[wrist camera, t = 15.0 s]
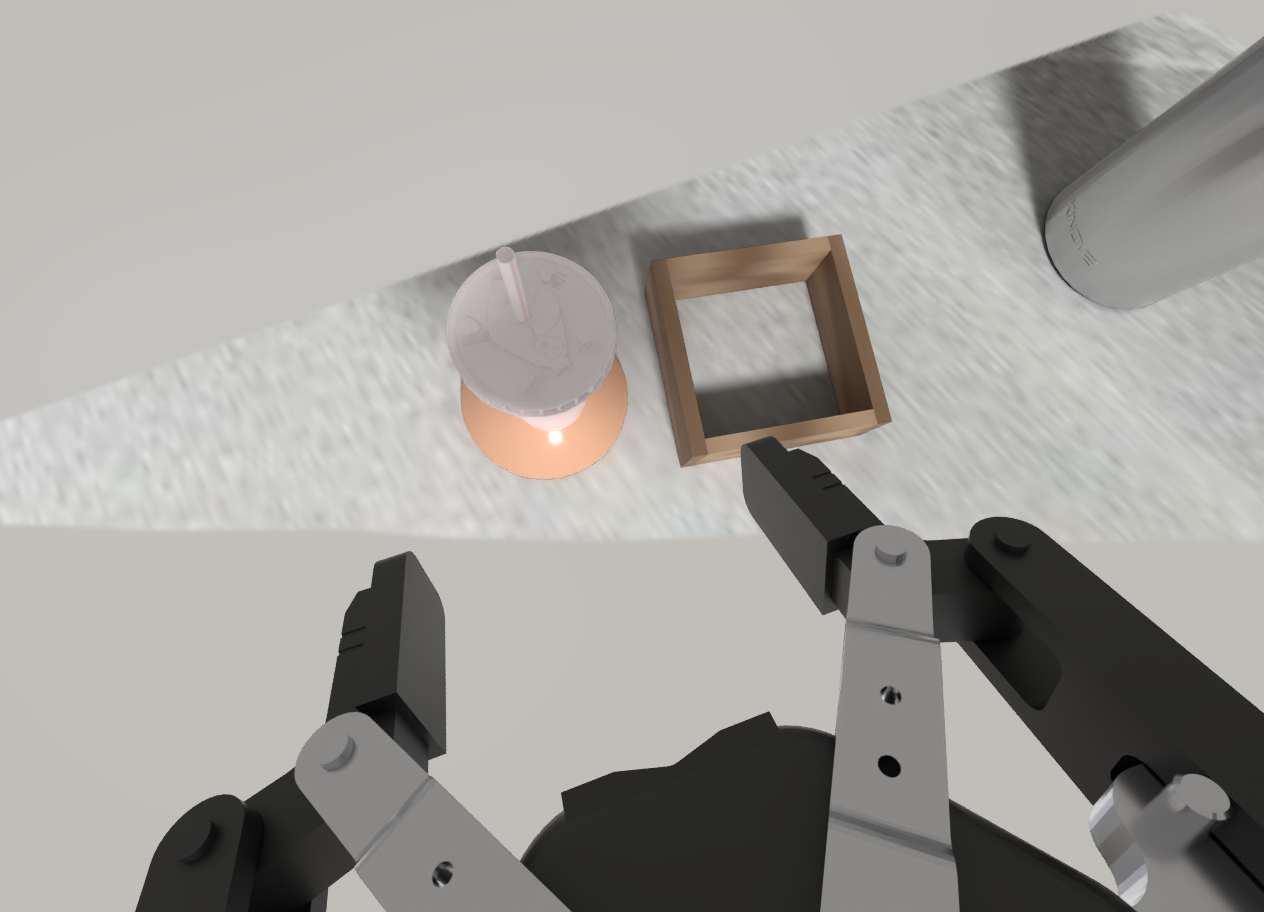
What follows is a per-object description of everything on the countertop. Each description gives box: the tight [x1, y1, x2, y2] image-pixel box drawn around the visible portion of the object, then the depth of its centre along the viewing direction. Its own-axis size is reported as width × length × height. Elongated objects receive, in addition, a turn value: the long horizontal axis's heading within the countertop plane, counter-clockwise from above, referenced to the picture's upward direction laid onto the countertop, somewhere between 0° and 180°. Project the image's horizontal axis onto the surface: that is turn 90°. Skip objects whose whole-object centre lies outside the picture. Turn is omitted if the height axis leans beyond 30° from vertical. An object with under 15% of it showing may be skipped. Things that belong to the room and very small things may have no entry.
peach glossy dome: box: [461, 356, 628, 480], centre depth 30 cm, size 9×9×1 cm
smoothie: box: [446, 247, 617, 431], centre depth 23 cm, size 6×6×14 cm
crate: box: [645, 234, 892, 467], centre depth 30 cm, size 11×11×4 cm
